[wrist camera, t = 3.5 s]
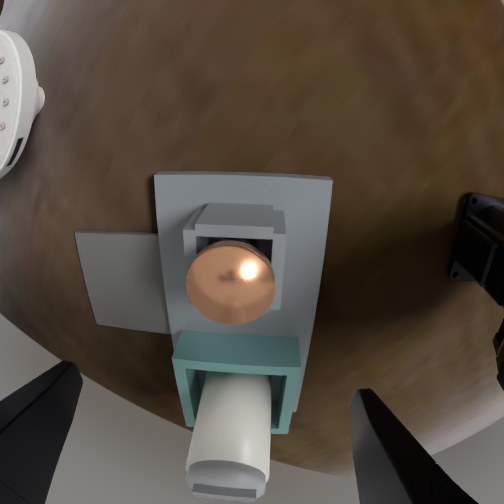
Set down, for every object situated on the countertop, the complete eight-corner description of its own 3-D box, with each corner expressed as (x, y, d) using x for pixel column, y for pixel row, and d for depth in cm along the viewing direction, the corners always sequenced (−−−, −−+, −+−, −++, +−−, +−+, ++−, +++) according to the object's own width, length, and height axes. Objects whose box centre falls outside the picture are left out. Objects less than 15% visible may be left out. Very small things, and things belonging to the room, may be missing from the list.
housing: (329, 176, 18) (347, 197, 13) (295, 403, 26) (297, 444, 22) (159, 171, 18) (129, 190, 14) (186, 395, 26) (176, 434, 22)
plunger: (276, 212, 18) (278, 250, 13) (272, 275, 19) (272, 326, 15) (205, 209, 18) (182, 245, 13) (207, 271, 19) (189, 321, 15)
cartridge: (274, 352, 22) (271, 486, 12) (269, 394, 24) (265, 510, 15) (205, 348, 22) (174, 476, 13) (209, 390, 24) (187, 503, 15)
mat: (160, 233, 20) (159, 235, 19) (172, 331, 23) (171, 334, 23) (77, 230, 20) (74, 232, 20) (98, 321, 23) (96, 324, 23)
